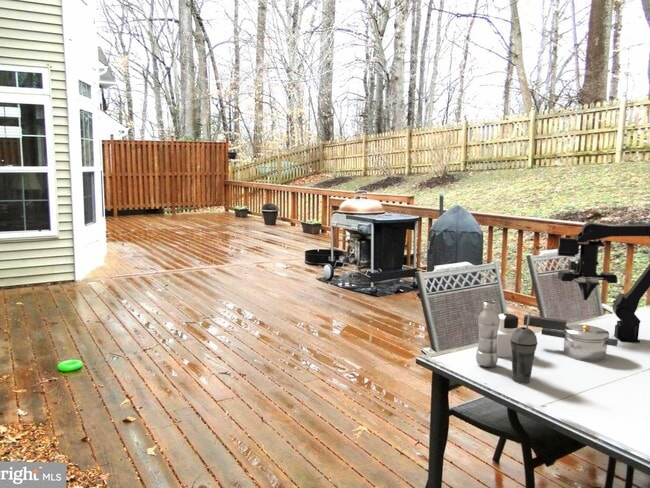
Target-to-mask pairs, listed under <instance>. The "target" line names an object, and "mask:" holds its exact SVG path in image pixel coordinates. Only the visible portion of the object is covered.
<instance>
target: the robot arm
mask: <svg viewBox="0 0 650 488" xmlns="http://www.w3.org/2000/svg"><path fill="white" fill-rule="evenodd" d="M611 237H648V238H650V223H649V224H628V225H627V224H626V225H624V224H619V225H618V224H616V225H615V224H613V225H611V224H604V223H600V222H585V223H584V224H583V225H582V226H581V230H580V232H578V234H577V235H576V236H575V237H574V238H571V237H563V236H562V237H559V239H558V245H557V256H558V257H572V258H575V257H576V256H578V255H579V258H578V261H577V262H576V260H575V261H573V260H572V261H571V260H570V261H568V266H567V267H568V270H559V271H558V273H557V277H556V278H557V279H559V280H560V281H561V282H573V281H574V283H576V284H578V287H579V289H580V293H581V296H582V299H583V301H587V300H588V299H589V297H590V296H591V294H592V292H593V291H594V290H595V288H596V287H597V286H600V285H601V284H600V282H599V281H606V282H607V283H608V284H618V276H617V275H616V274H614V273H612V272H607V271H606V272H605V271H604V272H603V271H602V272H599V273H600V274H598V273H597V271H598V270H597V267H598V266H599V261H598V259H599V258H598V257H599V247H606V244H605V243H603V241H602V239H606V238H611ZM572 271H573V272H572ZM649 288H650V263H649V264H648V265H647V267H646V268H645V269H644V271H643V272H642V273H641V275H640V276H639V277H638V278H637V280H636V281H635V282H634V283H633V284H632V286H631V287H630V289H629V290H628V291H627V292H626V293H625V294H622V293H620V292H619V293H618V295H617V297H616V298H615V300H613V301H612V304H613V305H612V312H613V313H614V314H615V316H616V318H618V319H619V320H616V324H615V325H614V334H613V337H615V339H617V340H618V341H620V342H629V343H641V341H640V339H639V334H640V333H639V332H640V324H641V320H640V319H639V317H638V316H637V315H636V314H635V313H636V311H637V309H638V306H639V303H640V301H641V299H642V298H643V296H644V295H645V294H646V293H647V292H648V289H649Z"/></svg>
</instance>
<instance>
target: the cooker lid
mask: <svg viewBox="0 0 650 488" xmlns="http://www.w3.org/2000/svg"><path fill="white" fill-rule="evenodd" d="M527 320H528V314H524V316H523V326H526V325H527ZM567 322H568V321H567V320H565V319H559V318H551V317H545V316H537V315H531V314H530V319H529V325H528V327H534V328H541V329H543V328H546V329H552V330H558V331H564V332H565V333H566V334H567V335H569V336H572V337H575V338H579V339H584V340H593V341H600V340H606V339H608V338H609V336H610V332H609V331H608V330H606V329H604V328H602V327H598V326H593V325H588V324H578V323H576V324H575V323H573V324H568V323H567Z"/></svg>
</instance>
